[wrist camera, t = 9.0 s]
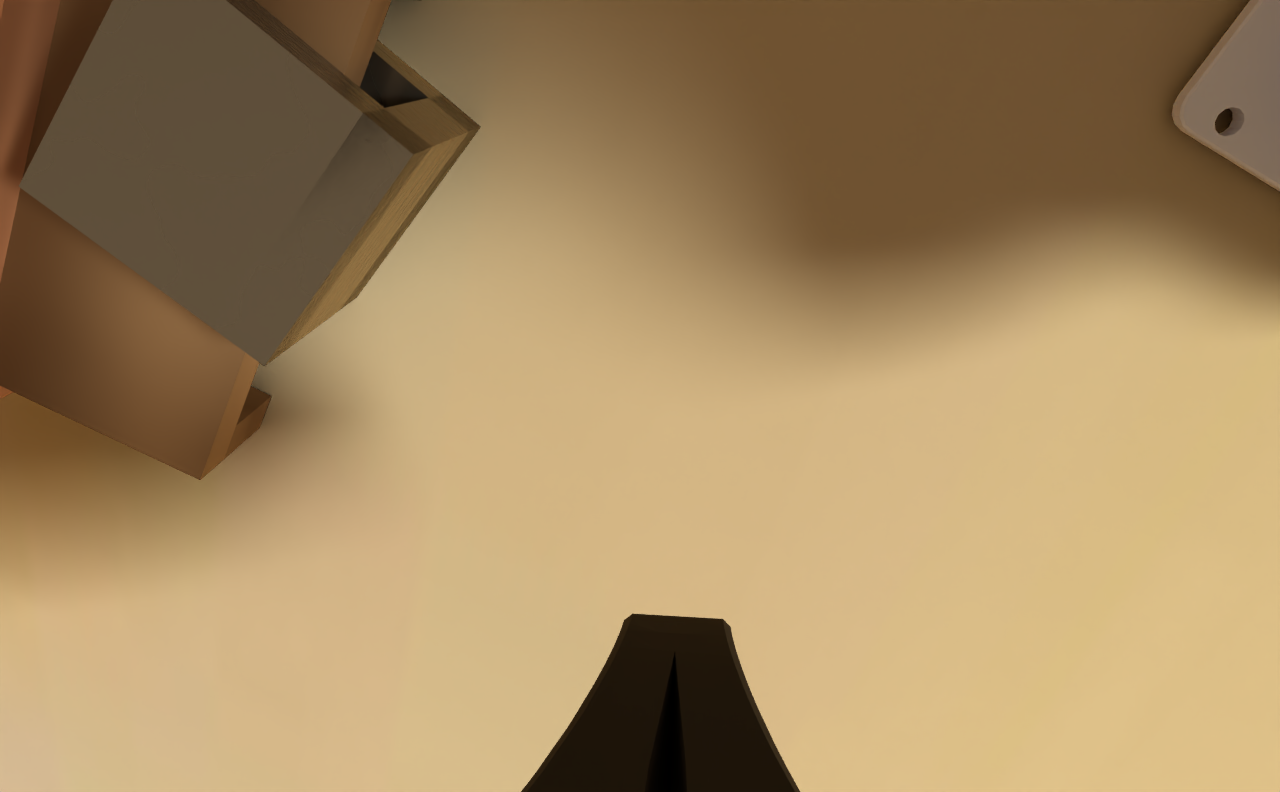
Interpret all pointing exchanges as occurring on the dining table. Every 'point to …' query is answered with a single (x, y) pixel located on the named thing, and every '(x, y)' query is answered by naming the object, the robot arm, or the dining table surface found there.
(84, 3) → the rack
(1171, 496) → the dining table surface
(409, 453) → the dining table surface
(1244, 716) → the dining table surface
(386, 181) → the open storage bin
